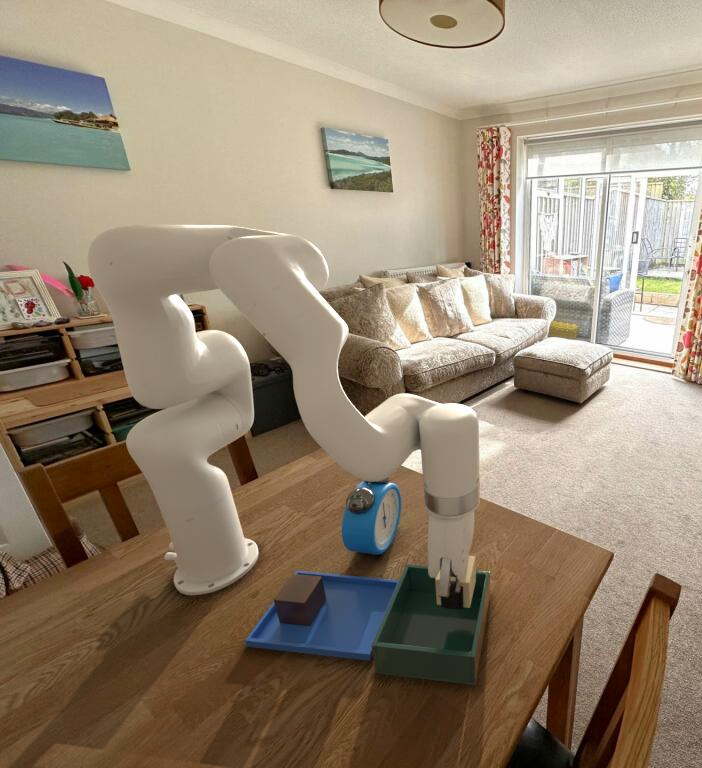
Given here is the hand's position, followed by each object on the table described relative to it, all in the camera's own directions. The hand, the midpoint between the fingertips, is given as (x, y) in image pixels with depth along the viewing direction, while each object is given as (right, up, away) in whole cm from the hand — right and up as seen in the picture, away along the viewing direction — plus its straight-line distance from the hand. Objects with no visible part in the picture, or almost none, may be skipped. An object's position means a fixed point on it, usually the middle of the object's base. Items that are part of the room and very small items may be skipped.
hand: (456, 589), depth 62 cm
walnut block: (-25, -5, +4) cm, 26 cm away
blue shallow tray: (-21, -6, +3) cm, 22 cm away
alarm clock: (-18, 0, +18) cm, 26 cm away
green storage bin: (-3, -7, +1) cm, 8 cm away
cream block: (0, 0, 0) cm, 1 cm away
